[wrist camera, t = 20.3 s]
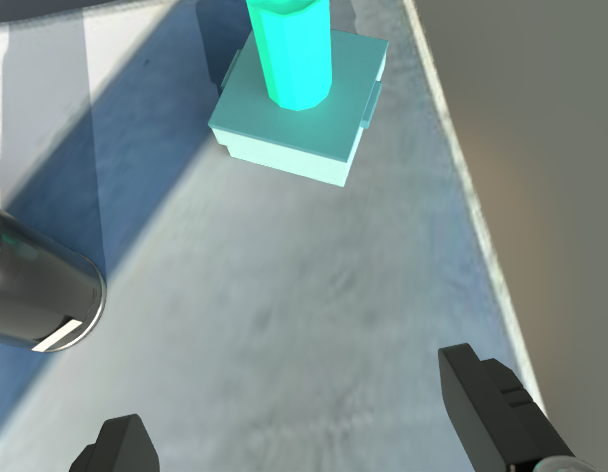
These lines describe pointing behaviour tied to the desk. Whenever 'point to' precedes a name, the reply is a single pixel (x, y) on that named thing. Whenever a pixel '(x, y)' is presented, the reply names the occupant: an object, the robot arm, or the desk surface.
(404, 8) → the desk surface
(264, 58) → the candle
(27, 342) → the robot arm
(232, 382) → the desk surface
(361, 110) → the food tub
